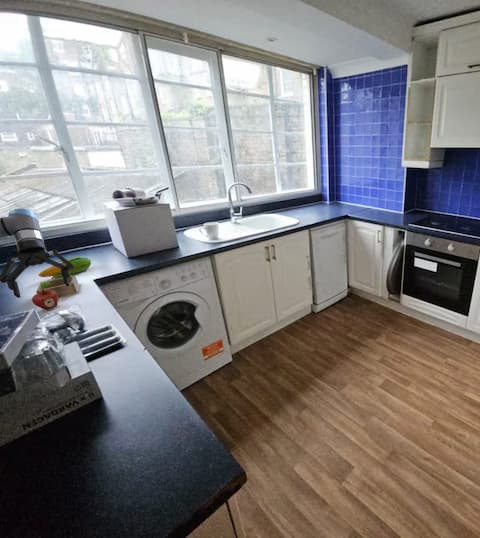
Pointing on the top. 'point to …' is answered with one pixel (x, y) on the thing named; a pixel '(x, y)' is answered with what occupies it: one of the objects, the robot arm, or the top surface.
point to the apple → (45, 298)
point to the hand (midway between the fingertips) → (43, 290)
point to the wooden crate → (62, 286)
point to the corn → (78, 263)
